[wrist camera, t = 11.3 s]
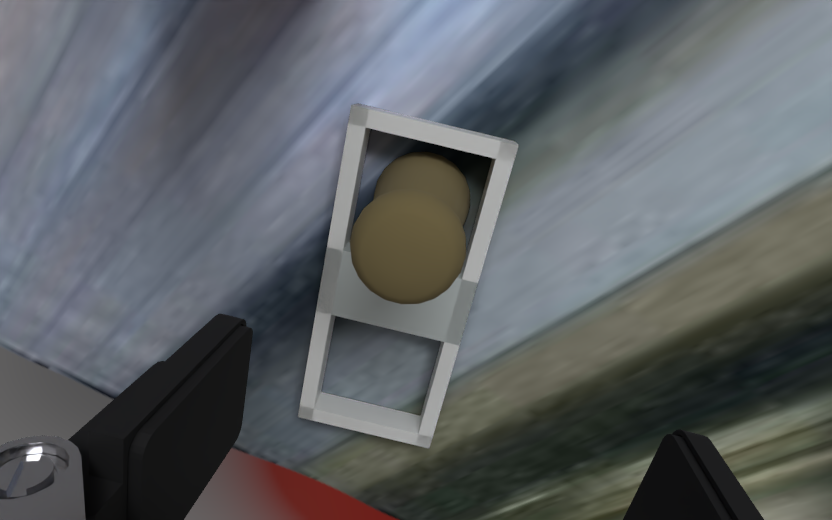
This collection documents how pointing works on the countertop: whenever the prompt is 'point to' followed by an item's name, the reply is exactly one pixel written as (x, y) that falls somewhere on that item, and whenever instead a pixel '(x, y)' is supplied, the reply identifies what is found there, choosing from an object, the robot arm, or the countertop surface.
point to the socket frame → (360, 304)
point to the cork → (413, 230)
